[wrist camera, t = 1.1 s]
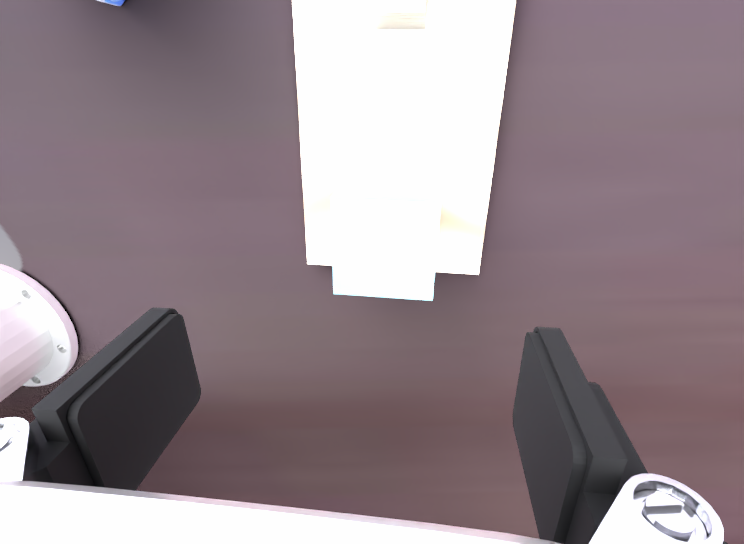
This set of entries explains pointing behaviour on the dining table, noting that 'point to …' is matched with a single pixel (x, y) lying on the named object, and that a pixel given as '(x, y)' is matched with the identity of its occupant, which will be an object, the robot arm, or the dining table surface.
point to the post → (393, 13)
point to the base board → (403, 111)
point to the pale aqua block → (385, 234)
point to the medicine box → (113, 2)
